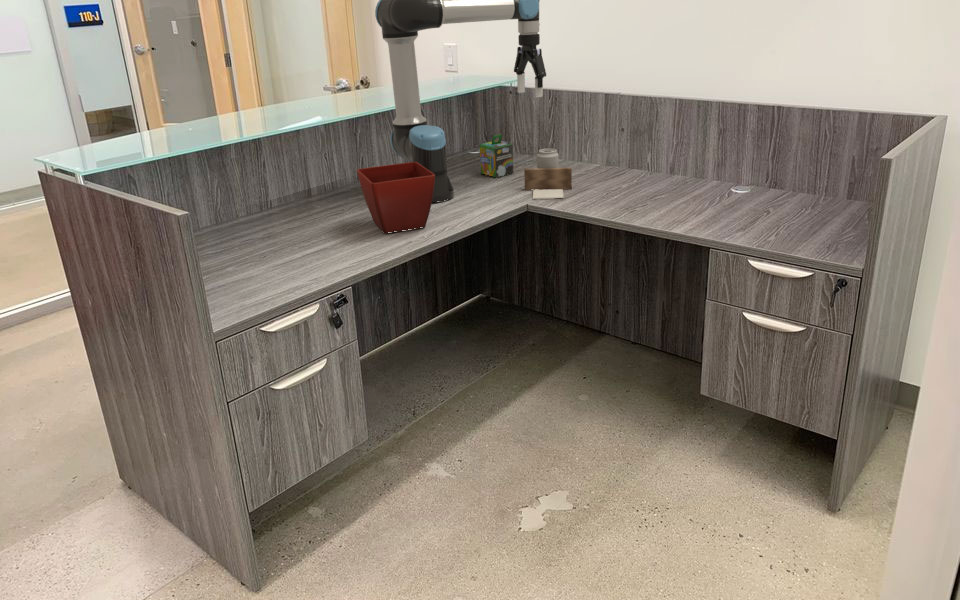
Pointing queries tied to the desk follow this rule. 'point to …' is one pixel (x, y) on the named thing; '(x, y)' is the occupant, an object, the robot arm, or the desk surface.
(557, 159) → the can
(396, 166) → the plant pot
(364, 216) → the desk surface
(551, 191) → the pad
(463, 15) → the robot arm
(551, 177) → the walnut plank
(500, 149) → the chalk box
